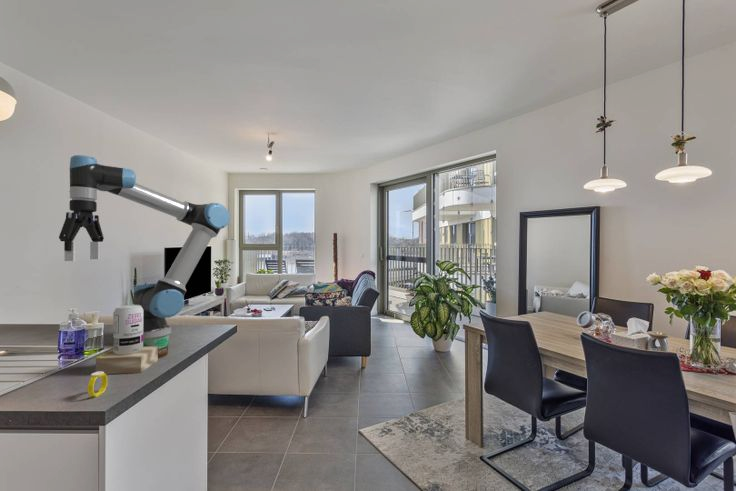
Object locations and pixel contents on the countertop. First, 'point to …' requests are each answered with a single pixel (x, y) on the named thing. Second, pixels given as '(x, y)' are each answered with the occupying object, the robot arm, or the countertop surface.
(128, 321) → the supplement can
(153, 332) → the food container
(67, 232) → the robot arm
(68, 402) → the countertop surface
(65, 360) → the countertop surface
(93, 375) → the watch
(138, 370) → the loading dock
